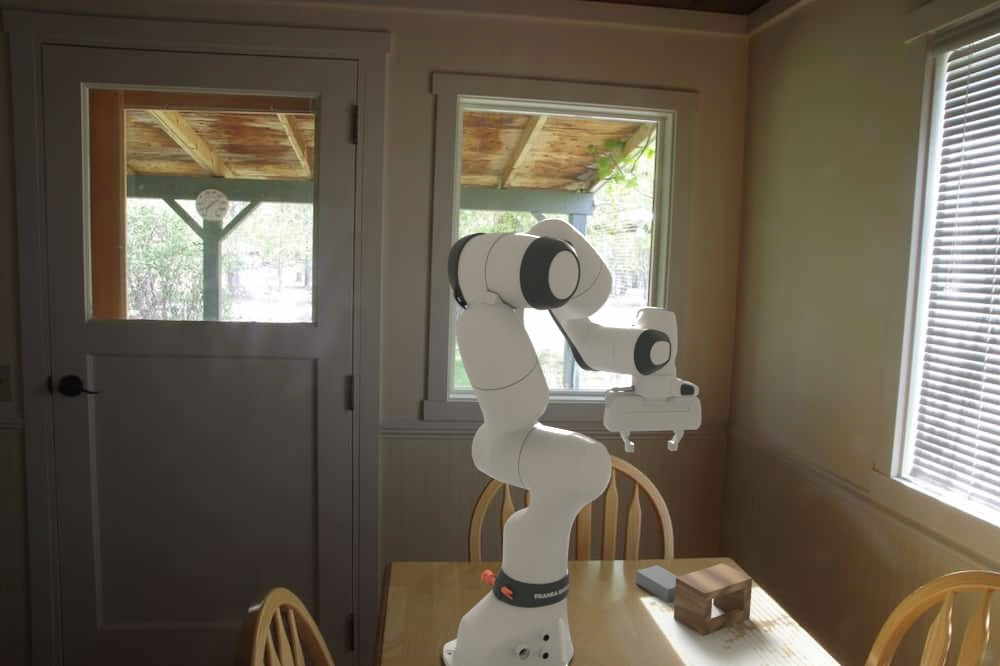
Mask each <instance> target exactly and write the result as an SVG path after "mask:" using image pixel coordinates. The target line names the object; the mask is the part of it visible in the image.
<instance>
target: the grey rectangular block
mask: <svg viewBox="0 0 1000 666" xmlns="http://www.w3.org/2000/svg"><path fill="white" fill-rule="evenodd" d="M676 577H679V575H678V576H677V575H676V574H674V573H672V572H671V571H670V570H667V569H665V568H664V567H662V566H660V565H659V564H656V565H653V566H650V567H646V568H643V569H638V570H636V578H635V583H636V584H637V585H639V586H641V587H642V588H644V589H645V590H647V591H649V592H650V593H651V594H654V595H655V596H656V597H658V598H660V599H661V600H663V601H665V602H667V603H668V602H671V601H675V586H676Z"/></svg>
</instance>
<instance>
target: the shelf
mask: <svg viewBox="0 0 1000 666" xmlns="http://www.w3.org/2000/svg"><path fill="white" fill-rule="evenodd" d="M752 586H753V577H751V576H750V575H747V574H745V573H744V572H741V571H739V570H737V569H735V568H733V567H730V566H729V565H726V564H725V563H719V564H716V565H713V566H710V567H706V568H703V569H700V570H696V571H693V572H690V573H686V574H684V575H680V576H679V575H678V577H676V586H675V600H674V603H673V604H674V608H673V618H674V620H676V621H678V622H679V623H681V624H683V626H686V627H687V628H689V629H690V630H692V631H693V632H695V633H696V634H698V635H700V636H702V637H704V636H706V635H710V634H712V633H715V632H718V631H721V630H723V629H725V628H727V627H729V626H734V625H735V624H738V623H741V622H744V621H746V620H748V619H751V604H752V602H751V601H752ZM713 605H714V606H716V607H717V608H719V609H721V610H723V611H725V613H722V614H720V615H717V616H714V617H712V613H713V611H712V609H713Z"/></svg>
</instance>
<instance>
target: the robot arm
mask: <svg viewBox="0 0 1000 666" xmlns="http://www.w3.org/2000/svg"><path fill="white" fill-rule="evenodd" d="M446 269H447V277H448V280H449V281H448V282H449V285H450V287H451V290H452V292H453V293H452V295H453V298H454V300H455V302H456V303H457V304H458V305H459V306H460V307H461V308H462V309H463V311H462V312H461V313H460V315H459V316H458V318H457V321H456V325H455V334H456V335H455V336H456V341H457V347H458V351H459V355H460V358H461V360H462V361H461V362H462V364H463V367H464V371H465V373H466V375H467V378H468V381H469V383H470V385H471V388H472V389H473V392H474V395H475V397H476V400H477V402H478V405H479V407H480V410H481V413H482V416H483V424H481V425H480V426H479V428H478V429H477V431H476V433H475V434H474V436H473V440H472V444H471V458H472V460H473V463H474V465H475V467H476V468H477V469H478V470H479V471H480V472H482V473H484V474H485V475H487V476H488V477H491V478H492V479H495V480H496V481H498V482H500V483H504V484H507V485H511V486H514V487H517V488H522V489H525V490H527V491H529V494H530V495H529V496H530V498H529V499H530V500H529V505H528V506H527V507H525V508H522V509H520V510H518V511H515V512H513V513H512V514H511V515H510V517H508V519H507V520H506V522H505V524H504V527H503V533H502V534H503V535H502V537H503V538H502V539H503V540H502V563H501V565H500V567H499V570H498V572H497V573H496V574H497V575H496V574H494V573H493V572H492V571H491V570H489V569H486V570H484V571H483V572H482V573H481V577H480V578H481V581H483V582H484V583H485V584H486V585H487V586H492V589H491V590H490V591H489V592H488V593H487V594H486V595H485V596H484V597H482V599H481V600H480V601H479V602H478V603H477V604H476V605H474V606H473V607H472V608H471V609H470V610H469V611H468V612H467V613H466V614H465V615H463V616H462V618H461V620H460V622H459V625H458V629H457V635H456V638H455V639H453V640H450V641H448V642H446V643H445V644H444V645H443V647H442V649H443V650H442V659H443V663H444V664H445V666H569V664H570V661H571V660H572V658H573V657H574V653H575V652H574V645H573V643H572V638H571V632H570V626H569V616H568V599H567V597H568V595H569V593H570V570H569V567H568V558H569V546H570V537H571V536H570V535H571V531H572V527H573V524H574V521H575V519H576V517H577V515H578V514H579V513H580V511H581V510H582V509H583V508H584V507H585V506H587V505H588V504H589V503H591V502H593V501H595V500H596V499H598V498H599V497H601V495H602V494H603V493H604V492H605V490H606V489H607V487H608V485H609V483H610V480H611V476H612V467H613V466H612V460H611V456H610V454H609V451H608V449H607V447H606V446H605V445H604V444H603V443H602V442H600V441H597V440H596V439H594V438H591V437H589V436H587V435H584V434H582V433H580V432H577V431H572V430H568V429H562V428H558V427H552V426H549V425H545V424H542V423H541V422H540V421H539V418H541V417H542V415H544V413H545V412H546V409H547V408H548V405H549V401H550V389H549V386H548V383H547V380H546V378H545V377H546V376H545V375H544V372H543V369H542V366H541V363H540V359H539V358H538V355H537V352H536V350H535V347H534V344H533V342H532V340H531V338H530V336H529V334H528V332H527V329H526V328H525V319H524V316H525V309H535V310H538V311H548V313H549V315H550V316H551V319H552V320H553V321H554V324H556V326H557V328H558V329H559V331H560V332H561V334H562V336H563V338H565V340H566V341H567V344H568V345H569V347H570V350H571V355H572V356H573V359H574V360H575V362H576V363H577V365H578V366H579V367H580V368H581V369H582V370H584V371H588V372H589V371H590V372H605V373H606V372H607V373H613V374H618V375H629V376H631V385H621V386H620V385H619V386H618V385H613V386H611V387H610V388H608V389H607V390H606V392H605V393H604V405H605V406H604V407H605V408H604V413H603V426H604V427H605V428H606V430H608V431H609V432H612V433H615V432H616V433H618V432H619V435H620V437H621V438H622V440H623V442H624V451H625V452H626V453H634V452H635V443H634V442H632V441H630V439H629V437H630V435H631V432H654V431H656V432H658V431H672V432H673V434H674V435H673V437H672V439H671V440H667V450H669V451H670V452H673V451H674V452H675V451H678V450H679V449H678V446H679V443H680V441H681V440H682V438H683V436H684V434H685V431H688V430H698V429H699V428H700V427H701V425H702V404H701V400H700V399H699V397H698V395H699V394H700V393H699V392H700V388H699V386H698V385H696V384H694V383H692V382H690V381H688V380H684V379H682V378H680V377H677V367H676V362H675V361H676V357H677V353H678V339H679V338H678V324H677V323H678V322H677V318H676V317H677V316H676V314H675V312H674V311H672V310H671V309H668V308H664V307H658V306H657V307H656V306H643V307H639V308H638V310H637V312H636V318H635V320H634V322H632V323H630V325H628V324H626V325H625V324H615V323H614V324H613V323H603V322H598V321H594V320H591V319H590V318H589V317H591V316H592V315H594V314H595V313H597V312H599V310H600V309H601V308H602V307H603V306H604V305H605V304H606V303H607V301H608V299H609V297H610V295H611V292H612V286H613V278H612V273H611V271H610V269H609V267H608V265H607V263H606V262H605V261H604V259H603V257H602V255H600V254H599V252H598V251H597V250H596V248H595V247H594V246H593V244H592V243H590V241H589V240H588V238H586V237H585V235H583V234H582V233H581V232H580V231H579V230H577V229H576V228H575V226H573V225H572V224H571V223H570V222H567V220H566V221H565V220H564V219H561V218H556V217H555V218H553V217H552V218H545V219H543V220H541V221H539V222H537V223H536V224H534V225H533V226H532V227H530V229H529V230H528V231H527V232H526V234H524V233H517V232H512V231H510V232H509V231H508V232H502V231H501V232H492V233H491V232H490V233H486V232H476V233H472V234H468V235H465V236H463V237H461V238H459V239H458V240H457V241H456V242H455V243H453V245H452V247H451V248H450V250H449V254H448V257H447V268H446Z"/></svg>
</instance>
